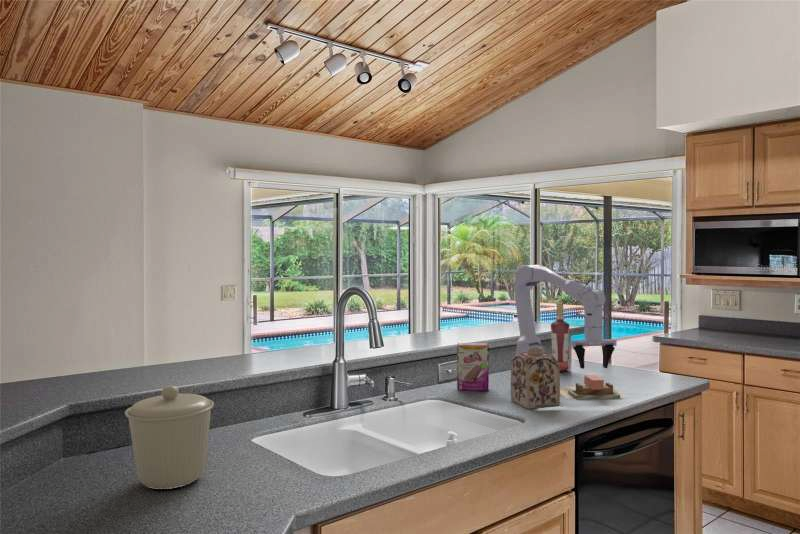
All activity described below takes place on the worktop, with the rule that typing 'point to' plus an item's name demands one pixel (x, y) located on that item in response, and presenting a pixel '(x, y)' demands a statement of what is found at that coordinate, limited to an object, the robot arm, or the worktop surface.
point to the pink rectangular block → (593, 382)
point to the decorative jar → (535, 379)
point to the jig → (571, 394)
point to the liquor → (560, 339)
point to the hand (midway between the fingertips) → (593, 367)
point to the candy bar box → (472, 366)
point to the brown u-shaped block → (588, 391)
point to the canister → (170, 437)
